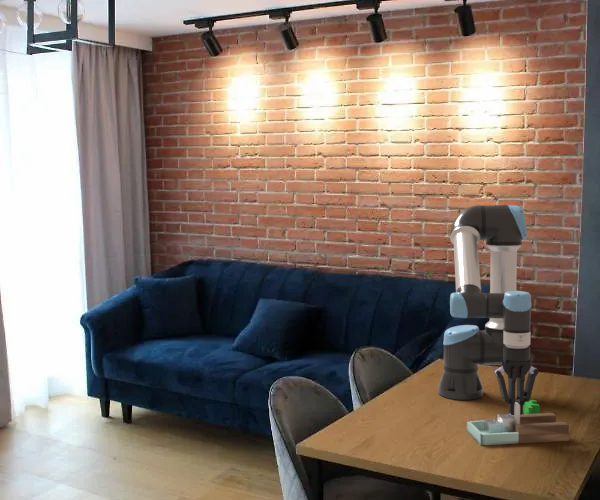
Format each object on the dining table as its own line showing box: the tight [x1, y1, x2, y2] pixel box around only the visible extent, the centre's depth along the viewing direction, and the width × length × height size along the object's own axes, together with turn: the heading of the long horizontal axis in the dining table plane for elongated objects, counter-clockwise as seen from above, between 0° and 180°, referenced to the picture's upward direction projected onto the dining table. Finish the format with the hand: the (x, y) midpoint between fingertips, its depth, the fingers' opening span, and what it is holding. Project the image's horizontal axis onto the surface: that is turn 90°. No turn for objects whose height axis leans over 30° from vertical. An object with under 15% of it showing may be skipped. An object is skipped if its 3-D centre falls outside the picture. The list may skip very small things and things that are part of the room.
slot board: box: [509, 412, 570, 444], centre depth 226 cm, size 12×15×4 cm
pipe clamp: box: [523, 399, 540, 414], centre depth 243 cm, size 11×4×5 cm, turn 173°
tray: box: [466, 419, 519, 446], centre depth 225 cm, size 12×11×3 cm
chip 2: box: [496, 413, 516, 433], centre depth 225 cm, size 4×4×4 cm
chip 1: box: [483, 418, 502, 434], centre depth 225 cm, size 4×4×4 cm
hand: (515, 425), depth 225 cm, fingers closed
